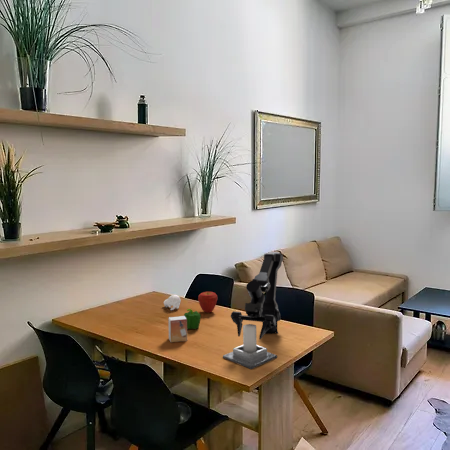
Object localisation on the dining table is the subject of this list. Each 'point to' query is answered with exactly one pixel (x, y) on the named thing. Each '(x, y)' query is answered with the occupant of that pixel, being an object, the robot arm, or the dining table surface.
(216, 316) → the dining table surface
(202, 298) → the apple
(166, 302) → the white animal figurine
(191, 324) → the bell pepper
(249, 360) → the duct collar
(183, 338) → the small box
